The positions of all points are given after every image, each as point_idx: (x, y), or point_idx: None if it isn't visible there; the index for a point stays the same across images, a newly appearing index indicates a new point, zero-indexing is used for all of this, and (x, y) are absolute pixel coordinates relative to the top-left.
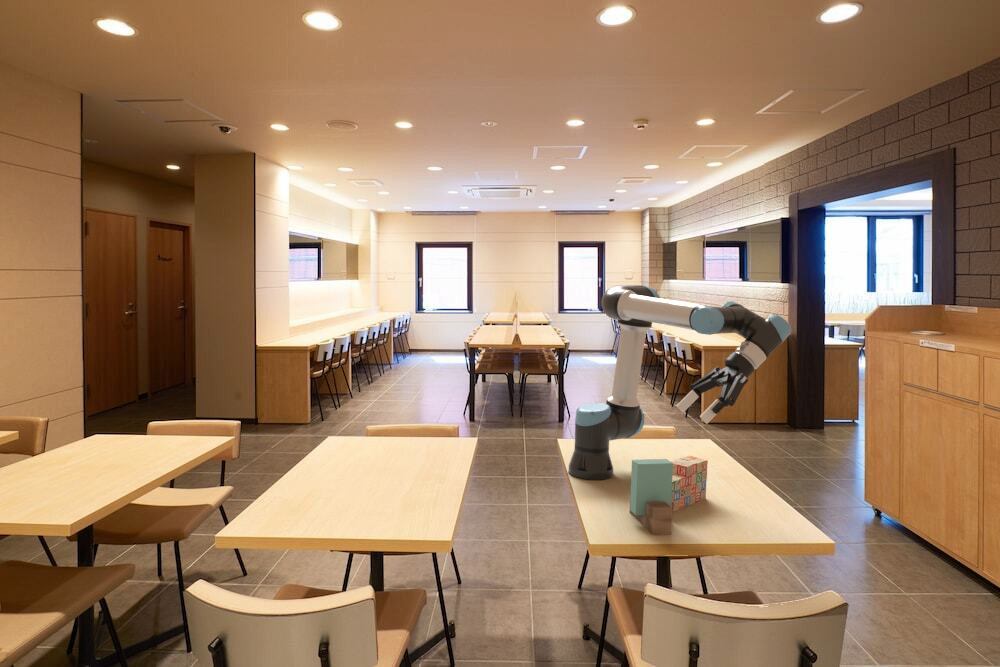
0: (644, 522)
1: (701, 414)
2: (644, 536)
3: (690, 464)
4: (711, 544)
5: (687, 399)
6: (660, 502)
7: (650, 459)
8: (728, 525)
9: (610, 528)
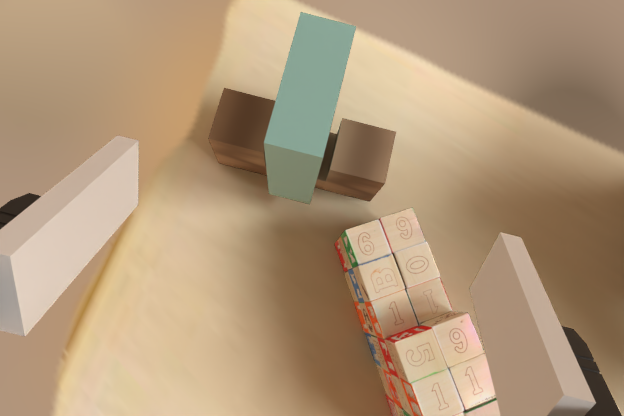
0: None
1: (127, 148)
2: None
3: (416, 382)
4: None
5: (516, 321)
6: (258, 135)
7: (336, 92)
8: (203, 355)
9: None
